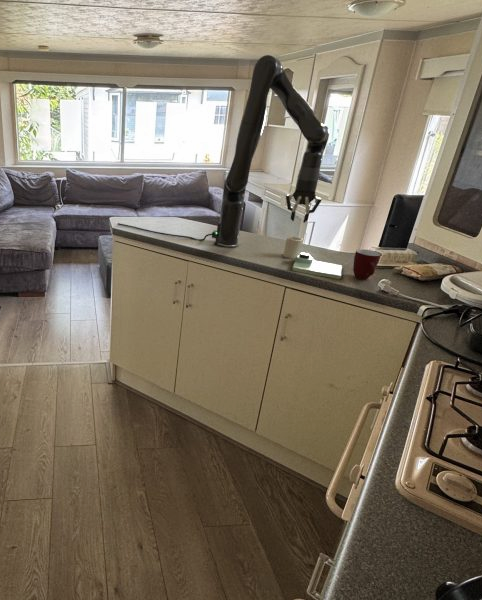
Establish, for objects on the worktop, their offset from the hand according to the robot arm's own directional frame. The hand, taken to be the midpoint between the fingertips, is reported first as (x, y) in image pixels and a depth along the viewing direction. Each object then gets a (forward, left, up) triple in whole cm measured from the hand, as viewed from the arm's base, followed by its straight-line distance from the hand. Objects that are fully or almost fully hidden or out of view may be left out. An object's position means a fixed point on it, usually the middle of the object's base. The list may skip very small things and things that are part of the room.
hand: (298, 221), depth 176 cm
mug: (+27, -14, -15) cm, 34 cm away
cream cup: (0, 0, -15) cm, 15 cm away
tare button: (+5, -8, -13) cm, 16 cm away
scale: (+11, -12, -15) cm, 22 cm away
